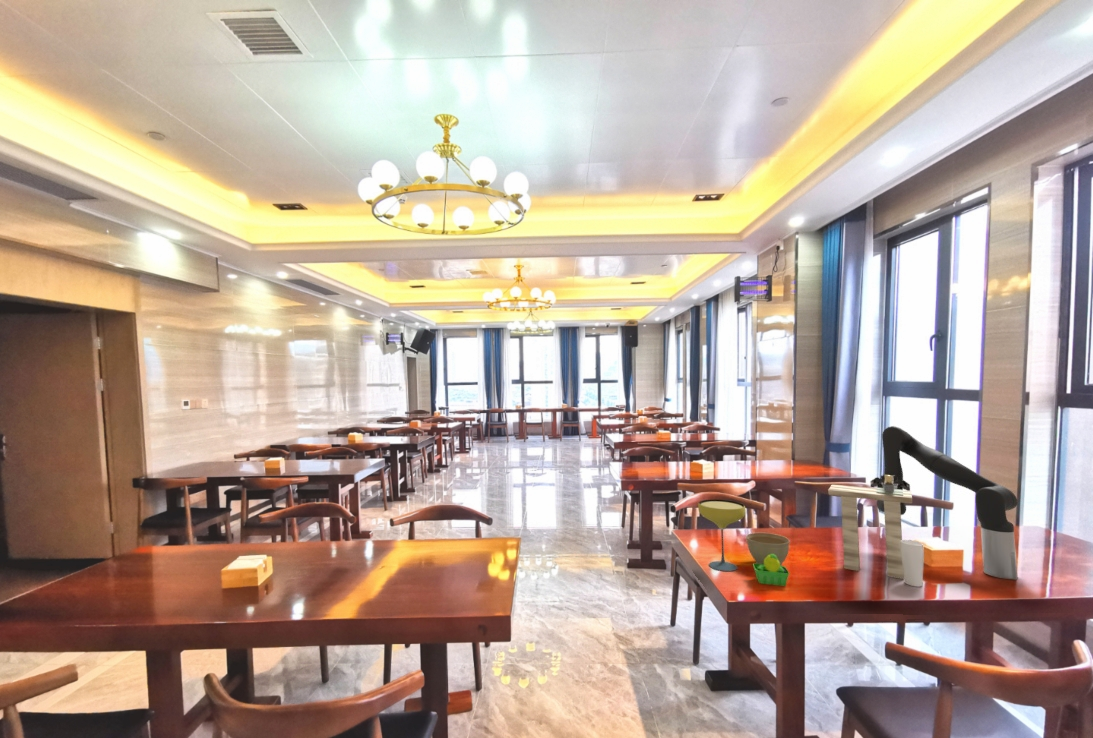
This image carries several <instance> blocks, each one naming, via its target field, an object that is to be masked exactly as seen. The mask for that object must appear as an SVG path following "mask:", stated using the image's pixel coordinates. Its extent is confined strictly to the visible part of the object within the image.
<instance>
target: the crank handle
mask: <svg viewBox="0 0 1093 738" xmlns="http://www.w3.org/2000/svg"><path fill="white" fill-rule="evenodd" d="M884 489H885V491H891V492H894V478H893V476H892V475H885V482H884Z"/></svg>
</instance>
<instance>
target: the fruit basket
mask: <svg viewBox="0 0 1093 738" xmlns="http://www.w3.org/2000/svg"><path fill="white" fill-rule="evenodd" d="M752 565H753V566H752V567H753V569H754V572H755V573H754V574H755V577H756V579H757V582H758V583H759V584H761V585H764V584H765V585H772V586H773V585H774V586H783V587H786V585H787V582H788V578H789V576H790V572H789V571H788V569H787V567H786V566H783V565H782V566H780V562H779V560H778V558H777V557H776V555H774V554H770V555H768V556H767V557H766V558H765V559H764V564H756V563H752Z"/></svg>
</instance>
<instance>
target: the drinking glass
mask: <svg viewBox="0 0 1093 738" xmlns="http://www.w3.org/2000/svg"><path fill="white" fill-rule="evenodd" d="M900 552H901V559H902V566H903V572H904V579H903V580H904V581H903V582H904V583H905V584H907V585H909V586H910V587H916V588H918V587H919V588H921V587H923V585H924V580H923V579H924V563H925V562H924V561H925V560H924V559H925V557H924V556H925V555H924V554H925V553H924V552H925V549H924V544H923V543H922V542H919V541H915V540H911V539H910V540H909V539H902V540H901V541H900Z"/></svg>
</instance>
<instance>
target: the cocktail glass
mask: <svg viewBox="0 0 1093 738" xmlns="http://www.w3.org/2000/svg"><path fill="white" fill-rule="evenodd" d="M697 505H698V506H697V507H698V512H699V514H700V515H701V516H702V517H703V518H704V519H707V520H708V521H710V522H712V523H714V524H715V525H716V526H717V527H718V528H719V530H720V531H721V533H720V534H721V560H720V561H719V560H715V561H710V562H709V564H708V567H710V568H711V569H713V570H715V569H716V570H715V571H719V570H720V571H721V572H734V571H735V572H736V570H738V566H737V565H736V564H734V563H731V562H728V561H726V559H725V551H724V530H725V529H726V528H727V526H729V525H731V524H733V523H736V522H738V521H740V520H742V519H743V518H744V517H745V516H746V506H745V504H743V503H741V502H739V501H735V500H729V499H727V500H726V499H704V500H699V502H698V504H697Z"/></svg>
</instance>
